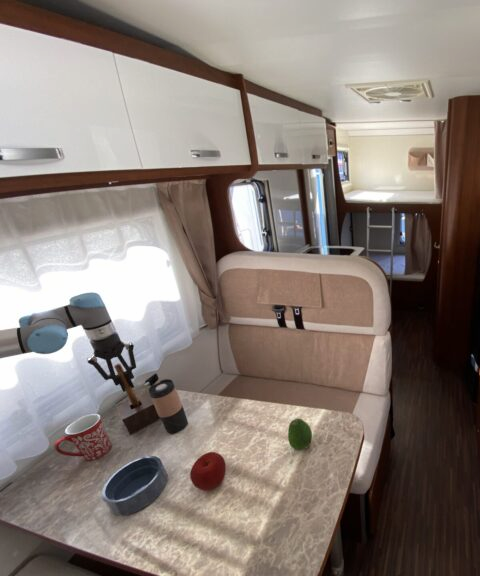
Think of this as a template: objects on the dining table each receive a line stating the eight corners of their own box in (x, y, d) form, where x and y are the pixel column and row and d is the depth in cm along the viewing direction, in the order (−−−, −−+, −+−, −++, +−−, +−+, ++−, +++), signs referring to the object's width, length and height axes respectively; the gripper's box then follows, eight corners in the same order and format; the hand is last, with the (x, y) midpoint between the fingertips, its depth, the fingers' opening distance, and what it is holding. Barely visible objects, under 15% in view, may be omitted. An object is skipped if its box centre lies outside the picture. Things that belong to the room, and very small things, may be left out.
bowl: (115, 528, 84) (106, 514, 82) (106, 494, 93) (97, 480, 91) (174, 488, 94) (168, 474, 92) (161, 461, 103) (154, 447, 101)
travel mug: (183, 432, 114) (166, 391, 106) (161, 436, 113) (143, 394, 105) (192, 417, 121) (176, 377, 113) (171, 420, 120) (154, 380, 112)
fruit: (316, 450, 105) (311, 424, 100) (293, 460, 102) (287, 434, 97) (310, 433, 111) (306, 408, 107) (289, 442, 108) (283, 417, 104)
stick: (136, 413, 118) (113, 365, 110) (135, 411, 119) (112, 364, 112) (142, 410, 119) (120, 363, 112) (141, 408, 120) (119, 361, 113)
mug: (112, 436, 114) (97, 409, 109) (117, 449, 109) (102, 421, 103) (66, 460, 105) (48, 432, 100) (69, 476, 100) (50, 447, 95)
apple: (194, 503, 90) (184, 481, 86) (197, 476, 98) (188, 454, 94) (229, 489, 93) (221, 467, 89) (229, 463, 101) (222, 442, 97)
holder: (130, 435, 114) (122, 419, 111) (124, 421, 121) (116, 406, 118) (161, 418, 121) (155, 403, 118) (154, 406, 128) (148, 391, 125)
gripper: (75, 348, 98) (104, 404, 107) (131, 329, 108) (154, 381, 118) (72, 341, 103) (101, 394, 112) (127, 323, 113) (149, 374, 122)
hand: (128, 388), depth 115 cm, fingers closed on stick, 2 cm apart
